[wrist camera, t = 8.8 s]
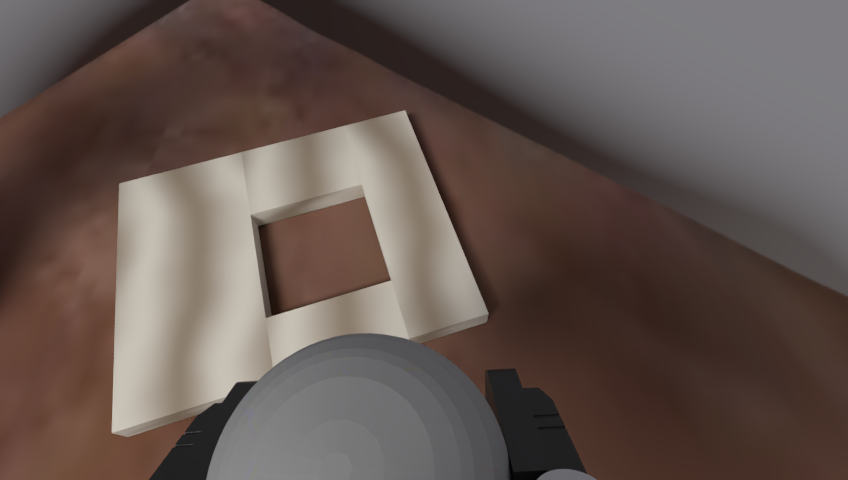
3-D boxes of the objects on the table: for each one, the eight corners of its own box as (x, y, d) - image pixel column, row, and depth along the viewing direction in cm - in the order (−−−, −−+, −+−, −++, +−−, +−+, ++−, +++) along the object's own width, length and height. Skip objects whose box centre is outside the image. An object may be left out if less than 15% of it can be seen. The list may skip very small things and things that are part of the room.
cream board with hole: (128, 436, 27) (111, 432, 25) (131, 195, 36) (119, 183, 34) (486, 322, 29) (488, 313, 28) (406, 123, 38) (405, 110, 37)
